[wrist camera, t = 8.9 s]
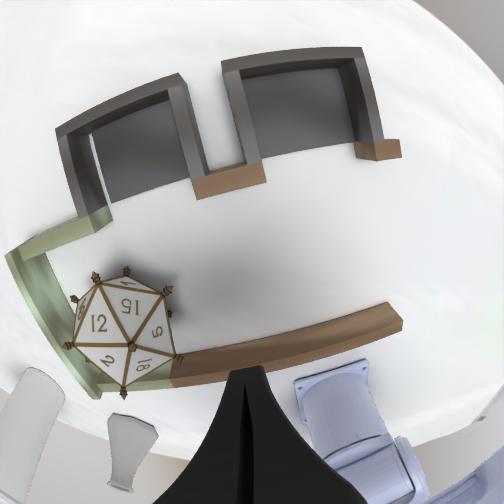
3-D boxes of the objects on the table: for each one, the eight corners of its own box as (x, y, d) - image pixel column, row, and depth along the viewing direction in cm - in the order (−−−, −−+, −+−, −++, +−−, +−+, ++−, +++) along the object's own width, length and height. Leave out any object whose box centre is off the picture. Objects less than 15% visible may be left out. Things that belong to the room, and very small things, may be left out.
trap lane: (386, 312, 23) (407, 337, 19) (104, 371, 23) (92, 399, 20) (357, 58, 15) (384, 43, 11) (11, 171, 15) (-19, 180, 11)
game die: (162, 294, 24) (166, 401, 19) (75, 279, 20) (67, 393, 15) (200, 247, 18) (211, 400, 13) (77, 219, 14) (54, 391, 9)
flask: (109, 430, 28) (94, 485, 19) (106, 406, 26) (86, 470, 17) (156, 444, 30) (149, 501, 20) (161, 423, 27) (151, 491, 18)
